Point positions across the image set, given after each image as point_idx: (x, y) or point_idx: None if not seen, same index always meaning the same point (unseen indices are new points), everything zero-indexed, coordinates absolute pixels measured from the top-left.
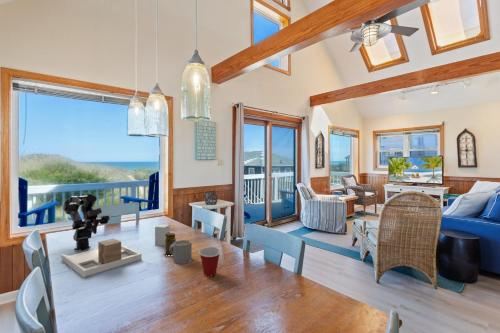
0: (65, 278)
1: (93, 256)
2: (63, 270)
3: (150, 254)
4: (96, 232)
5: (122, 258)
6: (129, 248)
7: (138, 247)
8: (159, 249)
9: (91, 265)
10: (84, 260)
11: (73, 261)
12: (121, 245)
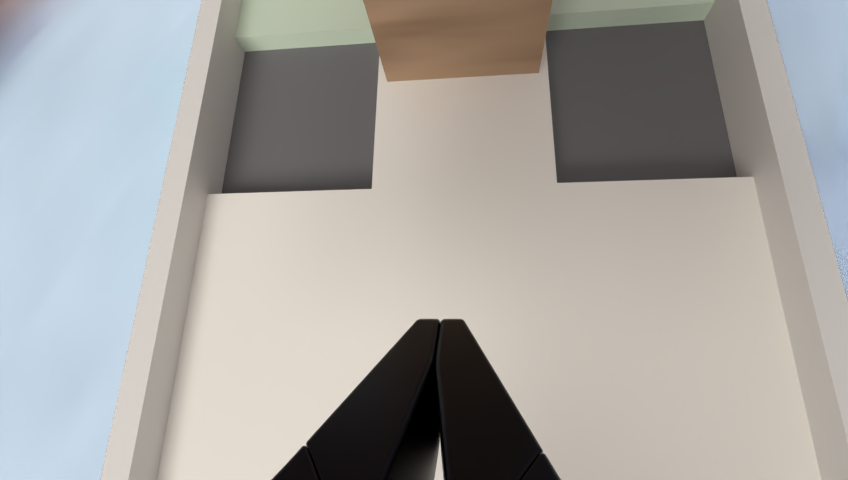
0: (833, 6)
1: (519, 284)
2: (844, 200)
3: (130, 22)
4: (416, 322)
5: (346, 16)
6: (176, 125)
7: (34, 280)
8: (4, 74)
9: (594, 107)
10: (637, 227)
11: (790, 160)
12: (149, 306)
